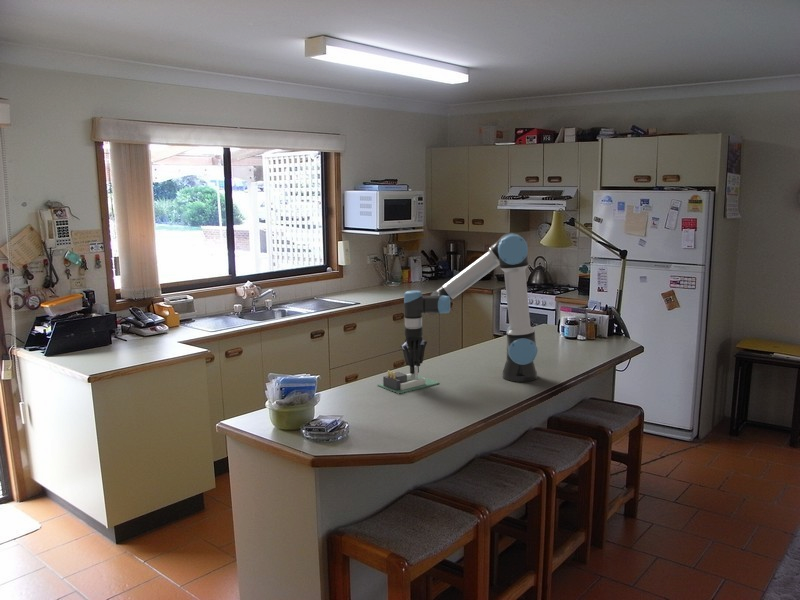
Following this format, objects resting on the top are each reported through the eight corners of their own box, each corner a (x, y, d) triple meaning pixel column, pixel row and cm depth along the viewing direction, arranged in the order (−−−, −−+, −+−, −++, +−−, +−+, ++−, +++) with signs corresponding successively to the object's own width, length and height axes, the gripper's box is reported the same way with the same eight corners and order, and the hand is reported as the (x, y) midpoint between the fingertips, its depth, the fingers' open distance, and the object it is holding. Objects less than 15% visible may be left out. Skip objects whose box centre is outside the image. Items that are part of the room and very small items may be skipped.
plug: (407, 386, 284) (406, 374, 283) (397, 388, 281) (397, 377, 280) (398, 383, 288) (398, 371, 288) (388, 385, 285) (388, 373, 284)
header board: (439, 383, 288) (439, 366, 287) (398, 394, 275) (398, 376, 274) (417, 376, 300) (417, 360, 299) (377, 385, 287) (377, 368, 285)
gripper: (419, 323, 292) (420, 375, 296) (396, 327, 284) (397, 381, 288) (430, 326, 286) (431, 379, 290) (407, 330, 278) (408, 385, 282)
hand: (414, 380), depth 289 cm, fingers closed
